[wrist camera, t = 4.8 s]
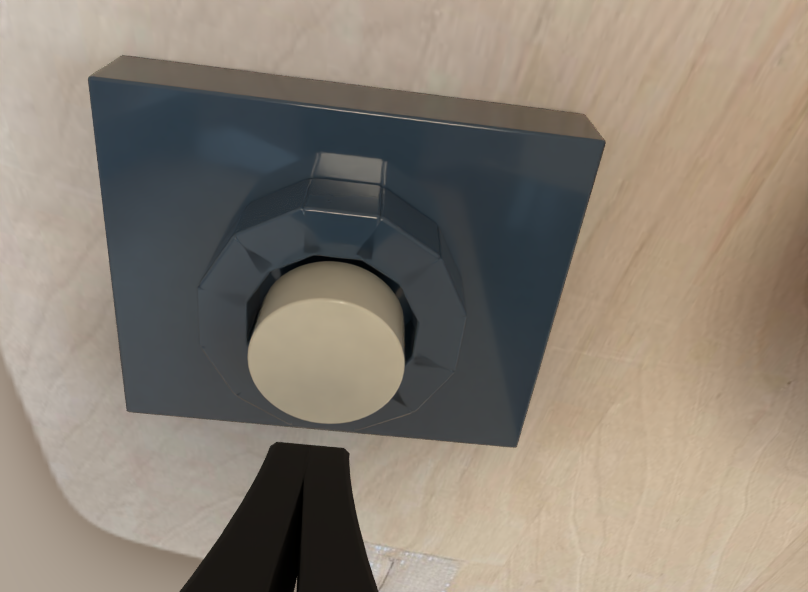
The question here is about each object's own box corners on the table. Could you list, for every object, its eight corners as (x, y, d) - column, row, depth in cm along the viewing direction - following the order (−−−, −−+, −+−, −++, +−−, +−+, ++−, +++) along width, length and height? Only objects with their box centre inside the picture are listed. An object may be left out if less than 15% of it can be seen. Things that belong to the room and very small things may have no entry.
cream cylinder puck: (259, 372, 18) (246, 417, 16) (261, 252, 16) (247, 290, 14) (395, 385, 18) (394, 431, 17) (413, 268, 16) (414, 308, 15)
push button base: (149, 367, 22) (103, 456, 19) (120, 53, 17) (50, 98, 14) (507, 402, 23) (526, 493, 20) (585, 113, 18) (629, 169, 14)
